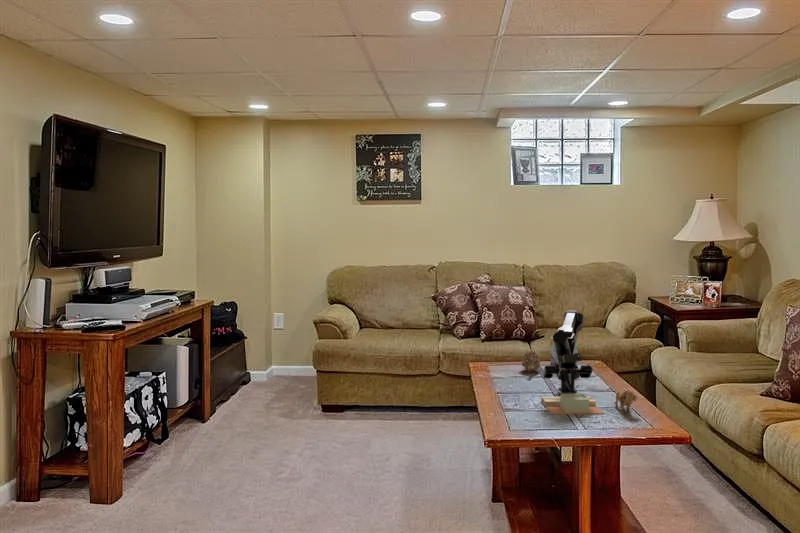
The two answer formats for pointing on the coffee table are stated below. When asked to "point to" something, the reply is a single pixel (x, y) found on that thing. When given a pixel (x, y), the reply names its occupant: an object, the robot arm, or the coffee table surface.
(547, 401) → the birch board
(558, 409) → the rubber mat
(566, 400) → the green block
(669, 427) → the coffee table surface
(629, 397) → the lion figurine
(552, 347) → the snack box
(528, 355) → the pine cone
